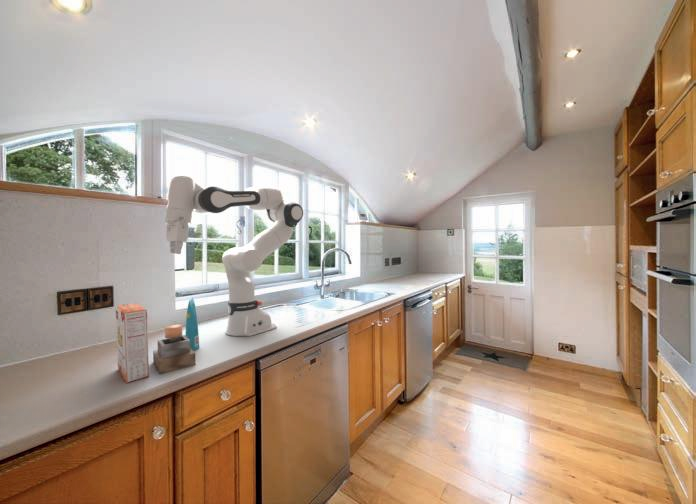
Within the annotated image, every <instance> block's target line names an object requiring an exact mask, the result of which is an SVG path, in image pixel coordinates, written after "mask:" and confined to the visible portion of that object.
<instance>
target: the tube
mask: <svg viewBox="0 0 696 504" xmlns="http://www.w3.org/2000/svg"><path fill="white" fill-rule="evenodd" d="M195 303H196V302H195V300H194V297H192V298H191V299H190V300H189V301H188V304H187V309H186V318H185V334H184V335H185V336H186V337H187V338H188V339H189V340H190V348H191V349H192V350H193V351H196V350H197V349H199V348H200V336H199V324H198V316H197V314H198V313H197V309H196V304H195Z"/></svg>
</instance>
